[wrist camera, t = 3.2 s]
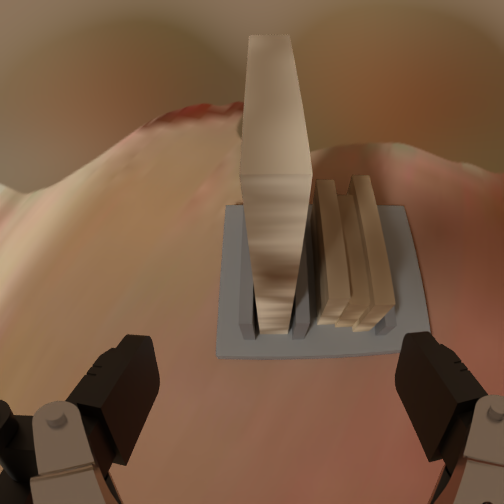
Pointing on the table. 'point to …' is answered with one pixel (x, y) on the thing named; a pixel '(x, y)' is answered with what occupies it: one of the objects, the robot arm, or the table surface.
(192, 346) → the table surface
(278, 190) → the birch panel
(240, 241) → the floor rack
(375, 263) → the pine offcuts
